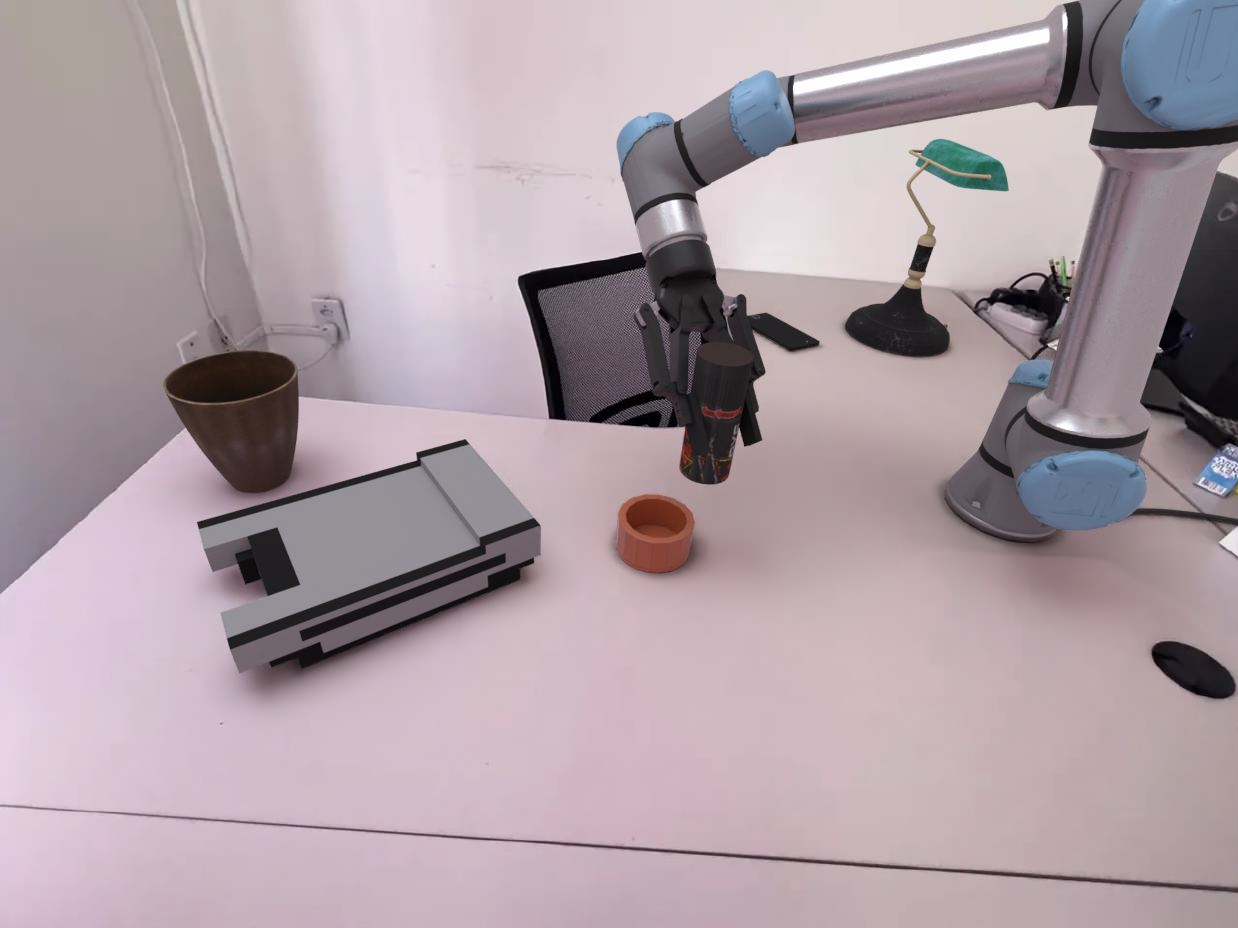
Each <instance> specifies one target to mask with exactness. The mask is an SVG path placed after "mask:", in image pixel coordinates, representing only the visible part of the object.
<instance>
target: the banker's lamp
mask: <svg viewBox="0 0 1238 928" xmlns="http://www.w3.org/2000/svg"><path fill="white" fill-rule="evenodd" d="M908 153H909V155H912V156H913V157H916V158H917V160H916V162H915V166H916V167H918V168H919V169H917V171H915V172H914V173H913V174H912V175H911V176H910V177H909V179H908V181H907V182H906V190H907V193H908V195H909V197H910V199H911V200H912V202H913V204H914V205H915V207H916V209H917V211H918V212H919V214H920V216H921V217H922V219H923V221H924V223H925V224H926V226H927V229H926V232H925V234H922V235H920V236H919V237H918V239H917V243H916V244H917V245H916V248H915V251H914V253H913V257H912V260H911V263H910V266H909V267H908V270H907V275H908V277H907V278H906V279H905V280H904V282H903V284H902V285H901V286H900V288H898V289H897V291H896V292H895V293H894V295H893V296H891V297H890V299H888V300H887V301H885V302H884V303H883V302H881V303H871V304H868V305H865V306H861V307H859V308H857V309H856V310H854V311H852V312H851V313H850V315H849V316H848V318H847V319H846V322H845V323H844V325H845V326H844V328H845V331H846V332H847V333H848V334H849V336H850V337H851V338H853V339H854V340H856V341H858V342H859V343H861V344H863V345H864V346H868V347H870V348H871V349H876V350H877V351H878V350H879V351H881V352H885V353H888V354H893V355H898V356H904V357H913V358H914V357H915V358H918V357H919V358H925V357H934V356H939V355H941V354H943V353H945V352H946V351H947V350H948V348H949V346H950V341H951V340H950V339H951V335H950V332H949V330H948V327H949V326H948V324H944V323H942V322H941V321H940V320H939V319H938V318H937V317H935V316H934V315H932V314H930V313H928V312H926V310H925V306H924V303H923V296H922V284H923V281H922V280H921V279H923V278H924V277H925V276H926V273H927V267H928V265H929V262H930V259H931V256H932V253H933V252H934V251H933V250H934V247H935V246H936V244H937V239H936V236H934V232H935V230H936V226H935V225H934V224H932V223H931V221H930V219H929V217H928V216H927V213H926V212H925V211H924V209H923V207H922V205H921V204H920V201H919V200H918V198H917V196H916V195H915V193H914V192H913V189H912V183H913V181H914V180H915V179H916V178H918V176H919V175H920V174H921V173H922V172H924V171H925V172H927V173H929V174H931V175H933V176H935V177H937V178H939V179H940V180H942V181H944V182H946V183H948V184H950V185H952V186H955V187H957V188H961V189H970V190H981V191H995V192H1009V191H1010V188H1009V181H1008V176H1007V173H1006V172H1007V171H1006V169H1005V167H1004V164H1003V163H1002V162H1001V161H1000V160H999V159H996V158H995V157H993V156H991V155H989V154H986V153H983V152H981V151H978V150H976V149H973V148H971V147H969V146H966V145H963V144H960V143H958V142H956V141H953V140H951V139H945V138H936V139H933V140H930V141H929V142H928V144H927V145H926V146H925V147H924V149H910V150H908Z"/></svg>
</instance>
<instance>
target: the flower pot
mask: <svg viewBox="0 0 1238 928" xmlns="http://www.w3.org/2000/svg"><path fill="white" fill-rule="evenodd" d="M162 389H163V391H164V393H165V394H166V397H167V399H168V400H169V402H170V404H171V406H172V408H173V409H174V411H175V413H176V415H177V416H178V418H179V419H180V421H181V423H182V425H183V426H184V427H185V429H186V431H187V432H188V433H189V435H190V437H191V438H192V440H193V441H194V442H195V444H196V446H198V448H199V449H200V451H201V453H203V455H204V456H205V457H206V458H207V459H208V461H209V462H210V464H211V465H212V466H213V467H214V468H215V470H216V471H218V473H219V474H220V475H221V476H222V477H223V478H224V479H225V480H226V481H227V483H228V484H229V485H230V486H232V488H234V489H235V490H237V491H239V492H242V493H249V494H251V493H252V494H255V493H263V492H268V491H271V490H274V489H276V488H278V487H280V486H282V485H283V484H285V483H286V482H287V481H288V480H289V478H290V476H291V473H292V469H293V464H294V461H295V460H294V459H295V453H296V448H297V440H298V432H299V431H298V430H299V416H300V396H299V395H300V392H299V391H300V390H299V374H298V366H297V363H296V362H295V361H294V360H293V359H291V358H290V357H288V356H286V355H284V354H282V353H278V352H273V351H268V350H257V349H255V350H254V349H247V350H246V349H244V350H230V351H223V352H218V353H213V354H208V355H205V356H201V357H198V358H195V359H192V360H190V361H187V362H185V363H183V364H181V365H179V366H177V367H175V368H174V369H173V370H172V371H171V372H169V374H167V375H166V377H165V378H164V380H163V383H162Z"/></svg>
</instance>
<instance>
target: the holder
mask: <svg viewBox="0 0 1238 928" xmlns="http://www.w3.org/2000/svg"><path fill="white" fill-rule="evenodd" d="M619 508H620V509H619V510H618V512H617V519H616V531H615V549H616V552H617V554H618V556H619V558H621V560H622V561H623V562H624V563H625V564H627V565H628V566H630V567H632V568H634V569H636V570H637V571H641V572H645V573H650V574H651V573H652V574H653V573H654V574H662V573H668V572H672V571H674V570H677V569H679V568H680V567H682V566H683V565H684V564H685V563H686V561H687V560H688V559H689V555H690V551H691V548H692V542H693V538H694V537H693V536H694V532H695V525H696V520H695V518H694V514H693V511H691V509H689V507H688V506H687V505H686V504H685V503H683V502H682V501H680V500H679V499H678V500H677V499H676V498H674V497H671V496H667V495H663V494H659V493H657V494H656V493H655V494H654V493H652V494H651V493H649V494H648V493H647V494H646V493H644V494H641V495H637V496H632V497H631V498H629V499H628V500H626V501H625V502H623V503H622V504H621V507H619Z"/></svg>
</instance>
